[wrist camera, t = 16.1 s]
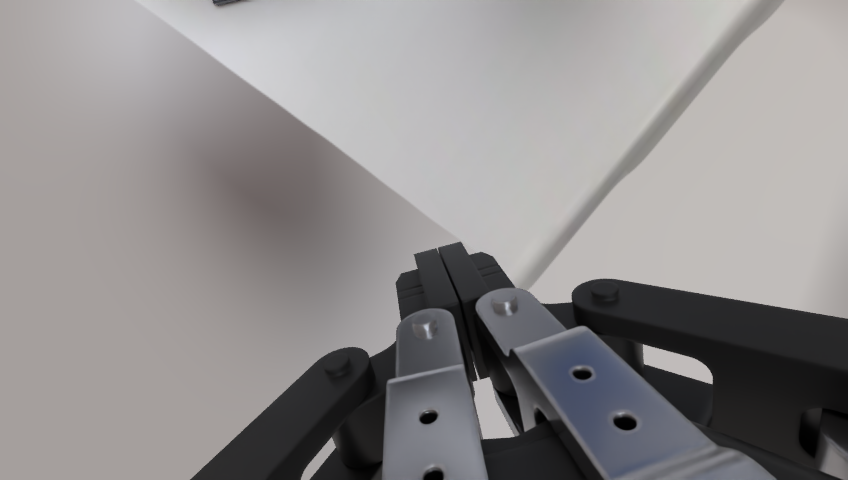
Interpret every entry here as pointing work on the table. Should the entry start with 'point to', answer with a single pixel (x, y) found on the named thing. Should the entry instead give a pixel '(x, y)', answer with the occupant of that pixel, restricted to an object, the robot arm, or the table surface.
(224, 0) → the monitor stand
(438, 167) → the table surface
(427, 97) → the table surface
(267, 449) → the robot arm
